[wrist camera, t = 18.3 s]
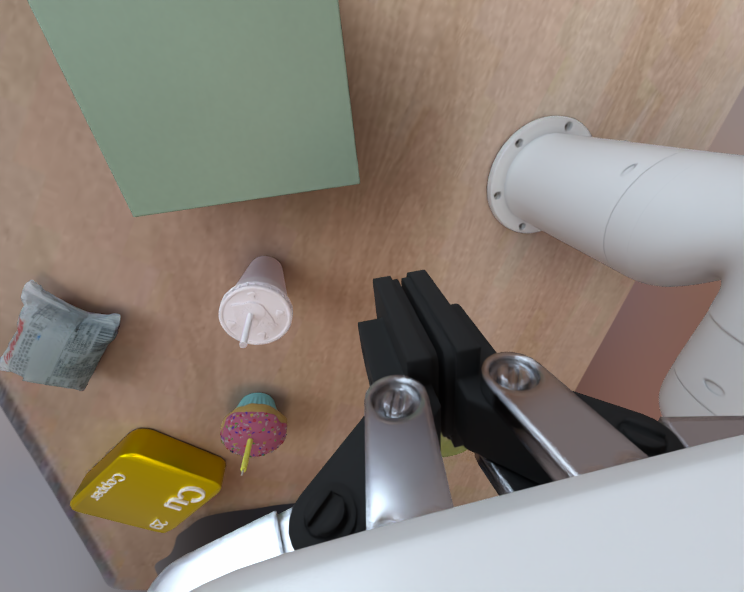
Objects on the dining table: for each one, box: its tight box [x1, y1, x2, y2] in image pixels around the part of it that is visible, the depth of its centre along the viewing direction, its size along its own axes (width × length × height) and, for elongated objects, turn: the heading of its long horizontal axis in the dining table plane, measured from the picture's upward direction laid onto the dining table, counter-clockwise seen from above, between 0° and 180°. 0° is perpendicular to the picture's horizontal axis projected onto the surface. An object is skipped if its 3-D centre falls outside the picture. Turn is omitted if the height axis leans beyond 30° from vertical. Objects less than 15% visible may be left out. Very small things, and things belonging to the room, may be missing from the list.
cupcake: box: [220, 393, 287, 476], centre depth 43 cm, size 9×8×12 cm
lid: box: [27, 0, 360, 217], centre depth 21 cm, size 17×14×1 cm
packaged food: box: [0, 280, 121, 391], centre depth 35 cm, size 9×12×5 cm
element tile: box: [70, 428, 226, 533], centre depth 49 cm, size 15×15×5 cm
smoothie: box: [219, 256, 293, 348], centre depth 32 cm, size 6×6×14 cm
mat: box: [441, 434, 468, 457], centre depth 58 cm, size 11×11×2 cm
